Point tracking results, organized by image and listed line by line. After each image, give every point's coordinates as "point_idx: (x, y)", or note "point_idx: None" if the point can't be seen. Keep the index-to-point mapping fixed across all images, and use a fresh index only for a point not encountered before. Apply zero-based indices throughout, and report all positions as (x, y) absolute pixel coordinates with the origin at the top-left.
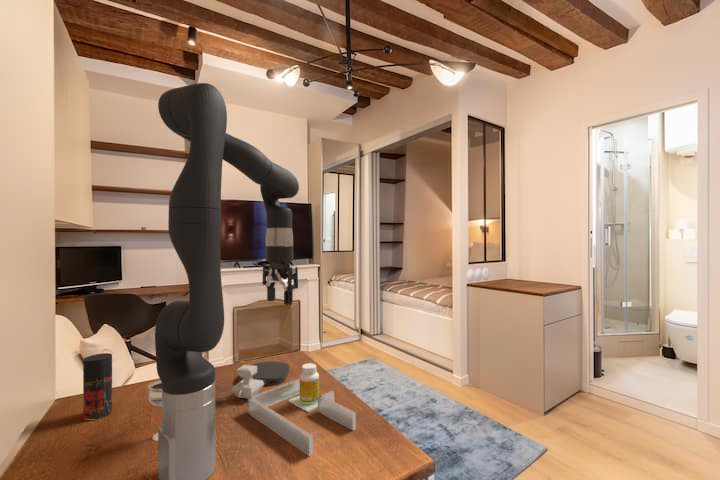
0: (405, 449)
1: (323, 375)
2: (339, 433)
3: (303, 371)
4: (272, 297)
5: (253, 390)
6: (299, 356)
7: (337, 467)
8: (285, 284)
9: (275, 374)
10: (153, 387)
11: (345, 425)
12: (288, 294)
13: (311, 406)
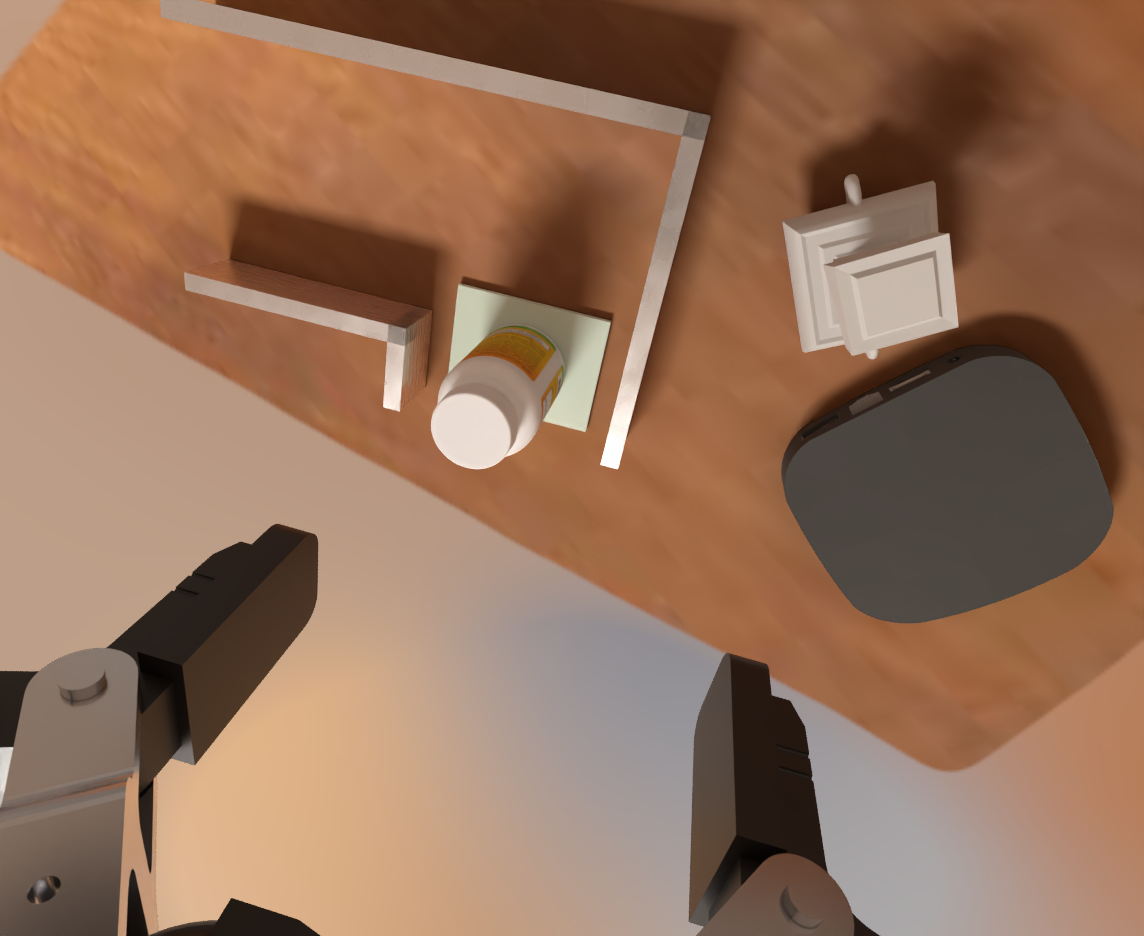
0: (39, 253)
1: (647, 601)
2: (251, 216)
3: (481, 385)
4: (706, 730)
5: (788, 246)
6: (914, 742)
7: (100, 18)
8: (12, 761)
9: (835, 479)
10: None
11: (264, 269)
12: (138, 625)
13: (476, 326)
